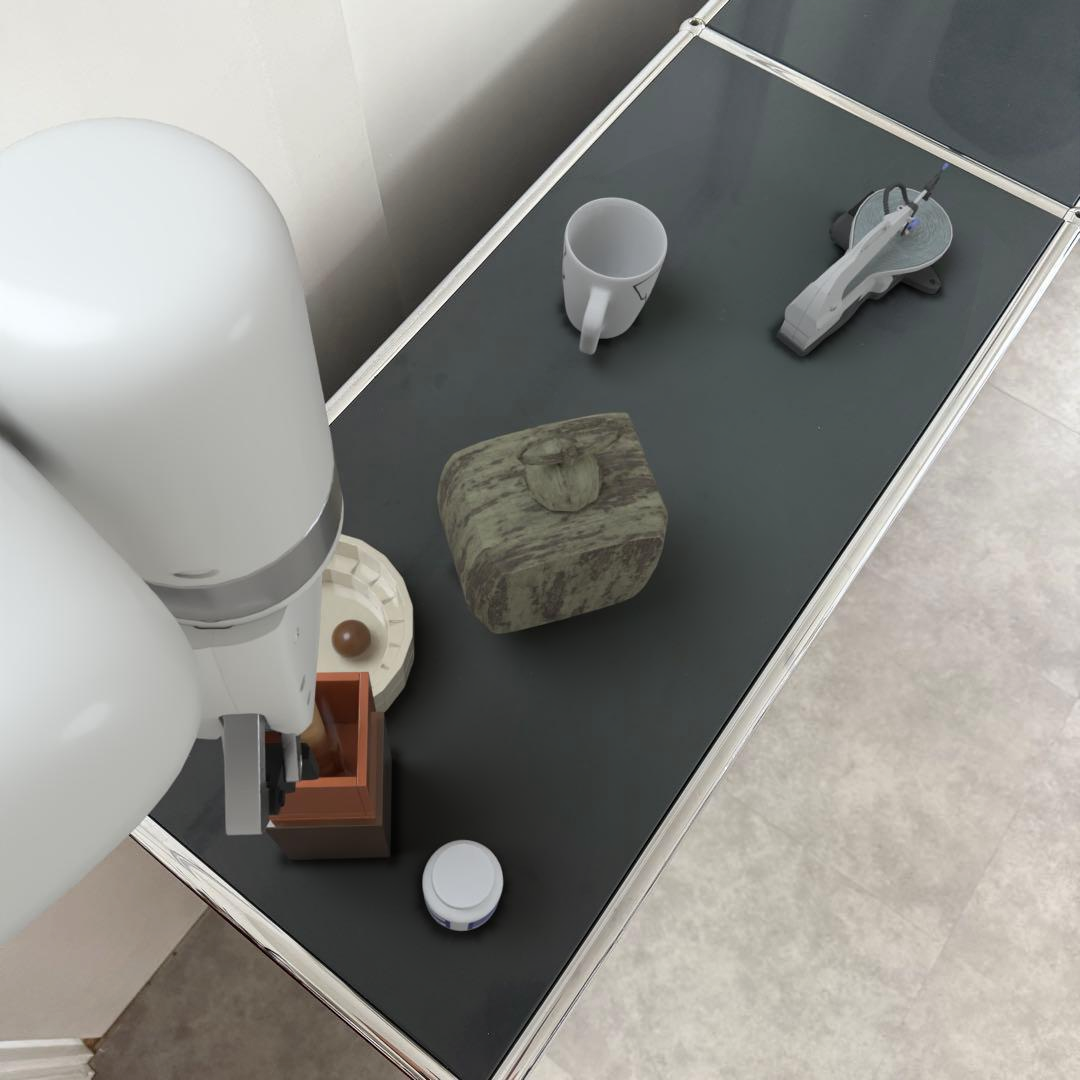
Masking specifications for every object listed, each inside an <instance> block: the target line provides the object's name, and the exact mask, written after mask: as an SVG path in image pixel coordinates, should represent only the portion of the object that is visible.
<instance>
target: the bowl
mask: <svg viewBox="0 0 1080 1080" xmlns="http://www.w3.org/2000/svg"><path fill="white" fill-rule="evenodd" d="M414 618H415V617H414V605H413V602H412V599H411V597H410V594H409V591H408V588H407V585H406V582H405V580H404V578H403V576H402V575H401V574H400V573H399V571H398V570H397V569H396V567H395V566H394V565H393V563H392V562H391V561H390V560H389V558H388V557H387V556H386V555H385V554H383V553H382V552H380V551H379V550H377V549H376V548H375V547H373V546H371V545H370V544H368V543H367V542H365V541H364V540H362V539H359V538H357V537H352V536H349V535H346V534H343V533H341V536H340V539H339V541H338V544H337V547H336V550H335V552H334V554H333V556H332V558H331V560H330V562H329V564H328V565H327V567H326V569H325V570H324V571H323V572H322V599H321V618H320V636H319V651H318V664H317V672H359V673H360V672H369V676H370V681H371V687H372V692H373V697H374V703H375V708H376V712H384V713H385V712H386V711H387V710H388V709H390V707H391V705H392V704H393V703H394V701H395V700H396V698H398V697H399V695H400V694H401V692H402V691H403V690H404V688H405V687H406V684H407V681H408V678H409V675H410V673H411V669H412V666H413V665H414V661H415V620H414ZM350 619H354V620H359V621H361V622H363V623H364V624H365V625H366V626H367V627H368V628H369V630H370V632H371V635H372V644H371V647H370V649H369V651H368V652H367V653H366V654H365V655H364V656H363V657H361V658H359V659H355V660H348V659H344V658H342V657H340V656H339V655H338V654H337V653H336V652H335V651H334V649H333V647H332V643H331V636H332V633H333V631H334V629H335V627H336V626H337V625H338V624H340V623H341V622H343V621H345V620H350Z"/></svg>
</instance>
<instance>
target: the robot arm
mask: <svg viewBox="0 0 1080 1080" xmlns="http://www.w3.org/2000/svg"><path fill="white" fill-rule="evenodd" d="M311 328H312V327H311V324H310V317H309V312H308V307H307V301H306V297H305V292H304V286H303V282H302V276H301V270H300V265H299V260H298V258H297V253H296V250H295V246H294V243H293V239H292V236H291V233H290V229H289V226H288V224H287V221H286V219H285V217H284V215H283V213H282V211H281V210H280V208H279V206H278V204H277V202H276V200H275V199H274V197H273V196H272V194H271V193H270V191H269V190H268V189H267V188H266V187H265V185H264V184H263V183H262V182H261V180H260V179H259V178H258V176H256V174H255V173H254V172H253V171H252V170H251V169H250V168H249V167H248V166H246V165H245V164H244V163H243V162H242V161H241V160H239V158H237V157H236V156H235V155H234V154H233V153H231V152H229V150H227V149H225V148H223V147H222V146H219V144H217V143H215V142H213V140H210V139H208V138H206V137H204V136H202V135H199V134H197V133H194V132H193V131H189V130H187V129H185V128H183V127H180V126H177V125H174V124H169V123H164V122H160V121H156V120H152V119H148V118H147V119H146V118H139V117H138V118H136V117H135V118H134V117H121V116H120V117H119V116H113V117H112V116H111V117H99V118H98V117H97V118H96V117H95V118H86V119H81V120H76V121H71V122H70V121H69V122H65V123H61V124H58V125H54V126H52V127H49V128H46V129H43V130H40V131H36V132H34V133H32V134H30V135H28V136H26V137H24V138H22V139H19V140H18V141H16V142H13V143H11V144H10V145H8V146H7V147H5V148H4V149H2V150H0V949H1V948H3V947H4V946H5V945H7V944H8V943H9V942H11V940H13V939H14V938H15V937H16V936H17V935H18V934H20V933H21V932H22V931H24V930H25V929H26V928H27V927H28V926H29V925H30V924H32V923H33V922H34V921H35V920H36V919H38V918H39V917H40V916H41V915H42V914H44V913H45V912H46V911H47V910H48V909H50V908H51V907H52V906H53V905H54V904H55V903H57V902H58V901H59V900H61V898H62V897H63V896H65V895H66V894H67V893H68V892H69V891H71V890H72V889H73V888H74V887H75V886H77V884H79V883H80V882H81V881H83V879H85V878H86V877H87V876H88V875H89V874H90V873H91V872H92V871H93V870H95V868H96V867H97V866H98V865H99V864H100V863H101V862H102V861H103V860H104V859H105V858H107V856H109V855H110V854H111V852H113V851H114V850H115V849H116V848H117V847H118V846H119V845H120V844H121V843H122V842H123V841H124V840H125V839H127V837H128V836H130V834H131V833H132V832H134V830H136V829H137V827H139V826H140V825H141V824H142V823H143V821H144V820H145V819H146V818H147V817H148V815H149V814H150V813H152V811H153V810H154V808H155V807H156V806H157V805H158V804H159V802H160V801H161V800H162V798H163V797H164V796H165V795H166V793H167V792H168V791H169V789H170V788H171V787H172V785H173V784H174V782H175V781H176V779H177V777H178V776H179V774H180V773H181V772H182V770H183V768H184V765H185V763H186V761H187V759H188V757H189V755H190V753H191V751H192V749H193V747H194V744H195V742H196V740H197V739H200V740H218V739H219V738H221V743H222V754H223V763H224V764H223V765H224V767H223V768H224V815H225V816H224V821H225V822H224V823H225V834H226V836H227V837H235V836H263V835H264V834H265V832H266V831H265V829H266V827H267V825H268V823H269V821H270V817H269V815H278V814H279V811H280V809H281V807H284V805H285V794H288V793H293V792H295V791H296V782H300V781H301V780H316V779H318V777H319V765H318V763H317V761H316V759H315V757H314V755H313V753H312V751H311V749H310V747H309V746H308V744H307V743H301V737H300V734H301V733H303V732H304V731H305V730H306V729H307V728H308V727H309V725H310V724H311V723H312V720H313V712H314V701H315V687H316V676H317V664H318V651H319V636H320V618H321V599H322V572H323V571H324V570H325V569H326V567H327V565H328V564H329V562H330V560H331V558H332V556H333V554H334V552H335V550H336V547H337V544H338V541H339V539H340V536H341V534H342V530H343V524H344V511H345V507H344V506H345V505H344V498H343V493H342V488H341V481H340V480H341V479H340V476H339V475H340V474H339V470H338V464H337V460H336V459H337V458H336V454H335V449H334V444H333V437H332V433H331V429H330V423H329V417H328V412H327V407H326V403H325V396H324V392H323V386H322V381H321V376H320V369H319V365H318V360H317V355H316V350H315V344H314V340H313V335H312V330H311ZM265 732H281V733H282V743H265Z"/></svg>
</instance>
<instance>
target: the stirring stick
mask: <svg viewBox="0 0 1080 1080" xmlns="http://www.w3.org/2000/svg"><path fill="white" fill-rule="evenodd" d="M300 737H301V743H307V744H308V746H309V747H310V749H311V751H312V753H313V755H314V757H315V759H316V761H317V763H318V765H319V777H318V778H321V777H331V776H333V775H334V774H335V772H336V771H342V770H344V759H343V756H342V753H341V750H340V747H339V744H338V741H329V738H328V735H327V733H326V730H325V727H324V724H323V722H322V719H321V716H320V713H319V711H318V708H317V705H316V702H315V701H314V712H313V720H312V723H311V724H310V725H309V727H308V728H307V729H306V730H305V731H304V732H303V733H301V734H300Z"/></svg>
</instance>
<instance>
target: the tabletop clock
mask: <svg viewBox="0 0 1080 1080" xmlns="http://www.w3.org/2000/svg"><path fill="white" fill-rule="evenodd" d="M436 501H437V502H436V503H437V506H438V513H439V514H438V515H439V519H440V521H441V525H442V528H443V531H444V535H445V537H446V541H447V545H448V547H449V550H450V554H451V558H452V560H453V564H454V567H455V571H456V574H457V578H458V581H459V584H460V587H461V590H462V593H463V596H464V601H465V603H466V606H467V608H468V611H469V612H470V613H471V615H473V616H474V617H475V618H476V619H477V620H478V621H479V622H480V623H482V624H483V625H484V626H485V627H486V628H487V629H488V630H489V631H490V632H491V633H493V634H495V635H500V634H507V633H513V632H518V631H522V630H526V629H530V628H533V627H537V626H542V625H546V624H550V623H554V622H557V621H561V620H565V619H569V618H573V617H576V616H580V615H583V614H586V613H590V612H593V611H597V610H600V609H604V608H607V607H611V606H614V605H617V604H619V603H622V602H625V601H627V600H630V599H632V598H634V597H635V596H636V595H638V593H640V592H641V591H642V590H643V589H644V588H645V586H646V585H647V583H648V581H649V580H650V578H651V577H652V575H653V573H654V572H655V570H656V568H657V566H658V563H659V561H660V558H661V555H662V552H663V549H664V545H665V538H666V533H667V527H668V521H669V514H668V510H667V507H666V504H665V502H664V500H663V496H662V495H661V491H660V489H659V486H658V485H657V482H656V480H655V477H654V474H653V472H652V468H651V466H650V464H649V461H648V458H647V455H646V453H645V451H644V449H643V445H642V444H641V441H640V438H639V436H638V433H637V430H636V428H635V425H634V422H633V421H632V419H631V417H630V415H629V414H628V412H605V413H597V414H591V415H585V416H580V417H576V418H570V419H565V420H561V421H560V420H559V421H555V422H550V423H545V424H541V425H537V426H532V427H529V428H525V429H522V430H518V431H514V432H510V433H507V434H503V435H500V436H496V437H492V438H489V439H486V440H483V441H480V442H477V443H473V444H470V445H469V446H467V447H465V448H462V449H460V450H458V451H455V452H453V454H452V455H451V456H450V457H449V460H447V462H446V463H445V464H444V467H443V469H442V471H441V473H440V477H439V483H438V488H437V495H436Z"/></svg>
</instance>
